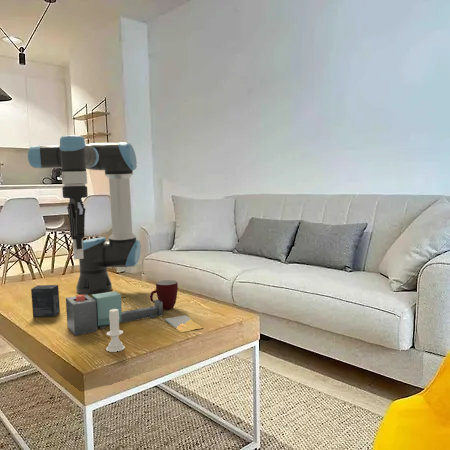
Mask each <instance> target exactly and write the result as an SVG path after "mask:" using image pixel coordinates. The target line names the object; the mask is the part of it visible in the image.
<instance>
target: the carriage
mask: <svg viewBox="0 0 450 450" xmlns="http://www.w3.org/2000/svg"><path fill="white" fill-rule="evenodd" d="M91 298H92V299H94V300H95V301H96V317H97V326H101V325H106V324H110V320H109V311H110V310H112V309H118V311H119V322H121V315H122V312H123V308H122V294H120V293H119V292H117V291H116V290H114V291H113V290H112V291H108V292H105V293H100V294H91Z"/></svg>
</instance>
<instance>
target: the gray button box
mask: <svg viewBox="0 0 450 450" xmlns="http://www.w3.org/2000/svg"><path fill="white" fill-rule="evenodd" d="M84 295H85V300H84V301H77V302H76V296H77V295H75V296H69V297H65V305H66V306H65V309H66V310H65V311H66V324H67V325H66V327H67V329H69V331H70V332H71V333H72V334H73V335H74V336H80V335H85V334H90V333H97V332H98V327H97V317H96V301H95V300H94V299H92V296H90V295H89V294H84Z"/></svg>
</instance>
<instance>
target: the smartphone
mask: <svg viewBox="0 0 450 450" xmlns="http://www.w3.org/2000/svg"><path fill="white" fill-rule="evenodd" d="M190 319H192V318H191V317H189V316H188V315H186V314H184V315H179V316H172V317H166V318H164V320H165V321H166V322H168V323H169V324H170V325H172V326H173V327H175V328H177V326H179V325H180V324H182V323H183V324H185V323H186V322H187V321H189V320H190ZM165 321H164V322H165ZM168 323H167V324H168ZM169 324H168V325H169ZM170 325H169V326H170ZM172 326H171V327H172ZM173 327H172V328H173Z"/></svg>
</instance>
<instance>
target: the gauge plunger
mask: <svg viewBox="0 0 450 450" xmlns="http://www.w3.org/2000/svg"><path fill="white" fill-rule="evenodd" d="M85 295H86V294H77V295H75V296H76V302H77V301H84V300H85Z"/></svg>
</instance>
